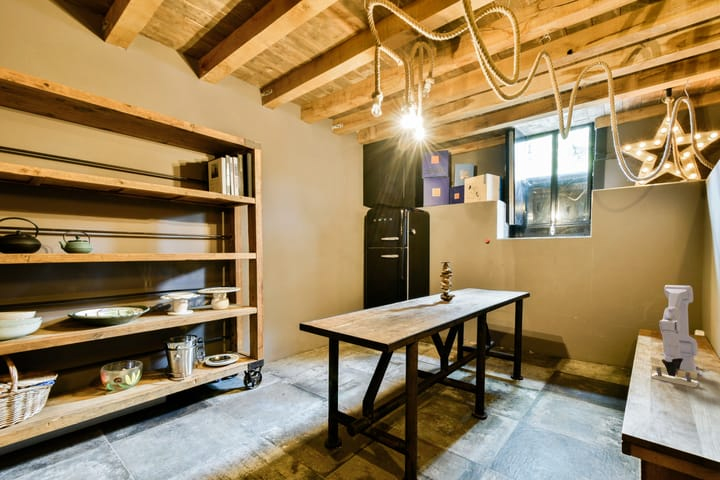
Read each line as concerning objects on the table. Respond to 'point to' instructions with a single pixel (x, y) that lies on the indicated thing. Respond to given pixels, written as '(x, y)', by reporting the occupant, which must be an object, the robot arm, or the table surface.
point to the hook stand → (675, 378)
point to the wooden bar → (678, 371)
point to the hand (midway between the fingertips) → (673, 374)
